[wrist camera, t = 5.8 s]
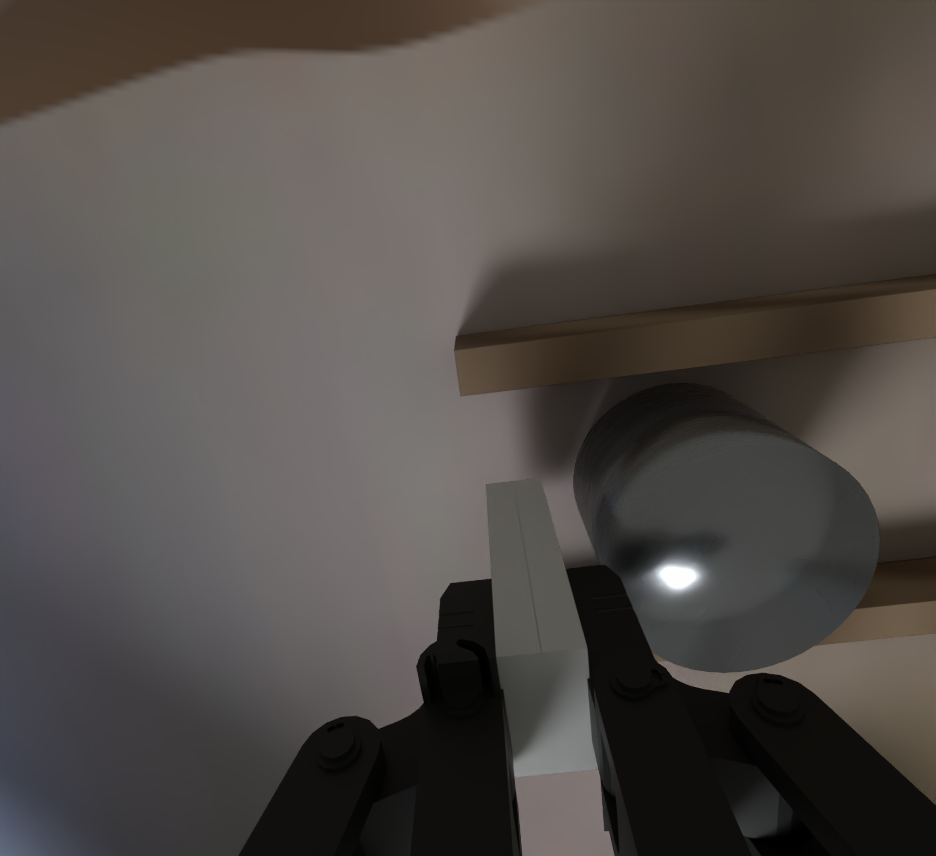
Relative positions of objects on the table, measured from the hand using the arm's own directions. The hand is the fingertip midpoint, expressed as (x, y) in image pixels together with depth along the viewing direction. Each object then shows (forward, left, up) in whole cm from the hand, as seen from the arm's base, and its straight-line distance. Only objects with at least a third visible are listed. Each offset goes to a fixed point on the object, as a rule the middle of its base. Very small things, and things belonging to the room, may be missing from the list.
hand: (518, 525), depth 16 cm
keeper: (+5, 0, -2) cm, 5 cm away
